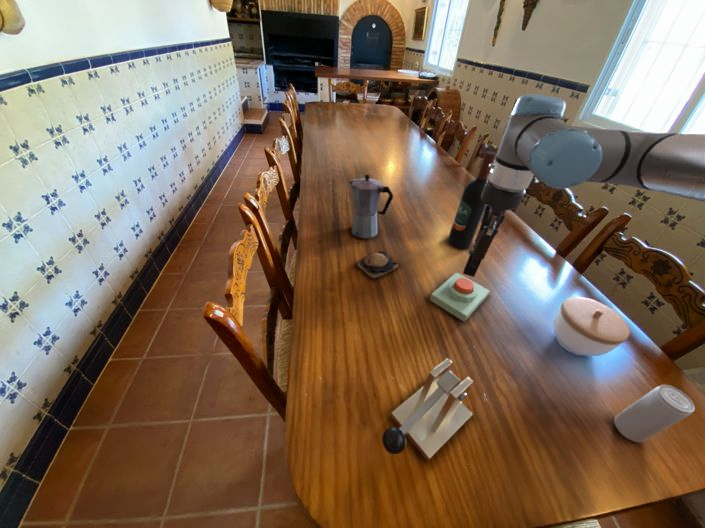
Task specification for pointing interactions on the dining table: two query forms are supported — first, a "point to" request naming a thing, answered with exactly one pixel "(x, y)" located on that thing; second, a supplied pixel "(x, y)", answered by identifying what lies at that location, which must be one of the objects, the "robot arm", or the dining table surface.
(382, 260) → the bread roll
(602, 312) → the lidded bowl
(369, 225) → the moka pot
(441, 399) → the lever bracket
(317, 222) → the dining table surface
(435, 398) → the lever
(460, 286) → the button
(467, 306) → the button box
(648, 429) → the beverage can
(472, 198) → the wine bottle
